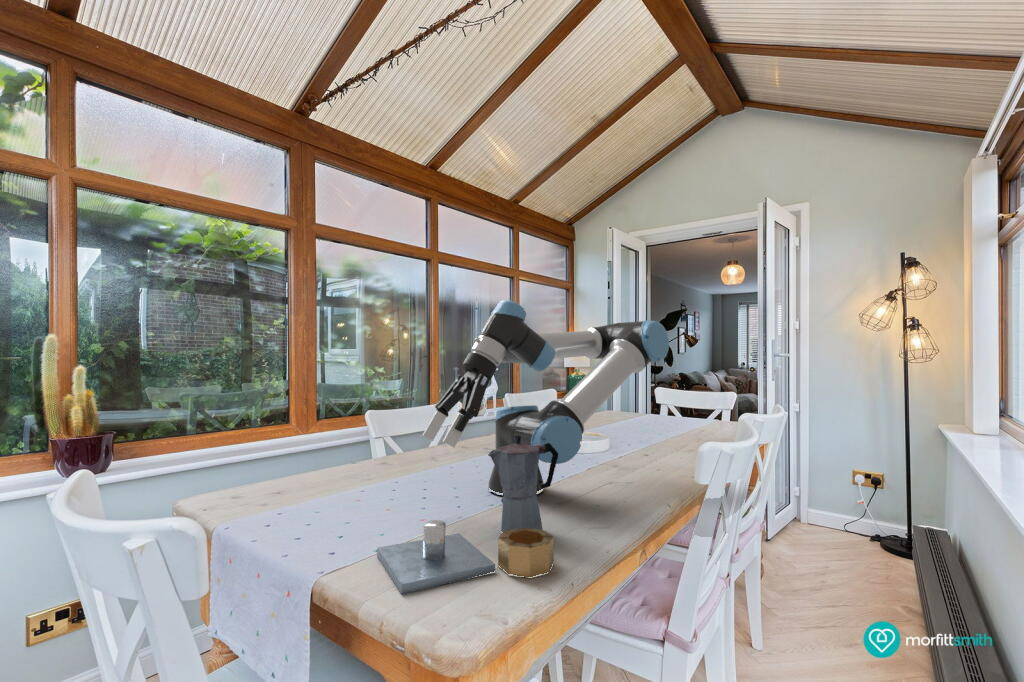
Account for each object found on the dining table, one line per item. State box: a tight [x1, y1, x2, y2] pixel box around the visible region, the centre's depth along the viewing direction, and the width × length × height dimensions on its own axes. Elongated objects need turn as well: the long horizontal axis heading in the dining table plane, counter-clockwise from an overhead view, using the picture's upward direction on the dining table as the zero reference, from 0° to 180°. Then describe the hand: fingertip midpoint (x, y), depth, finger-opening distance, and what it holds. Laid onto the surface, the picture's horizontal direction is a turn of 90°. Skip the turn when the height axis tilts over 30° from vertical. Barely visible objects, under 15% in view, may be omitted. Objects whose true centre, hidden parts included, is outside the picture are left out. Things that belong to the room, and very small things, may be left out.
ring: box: [497, 527, 555, 577], centre depth 85 cm, size 9×9×5 cm
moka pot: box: [487, 436, 558, 532], centre depth 102 cm, size 10×15×20 cm, turn 111°
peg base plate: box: [376, 519, 496, 595], centre depth 85 cm, size 16×16×7 cm
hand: (437, 441), depth 106 cm, fingers open, 13 cm apart
